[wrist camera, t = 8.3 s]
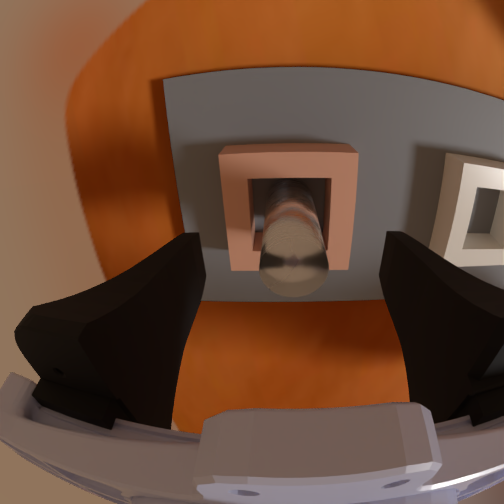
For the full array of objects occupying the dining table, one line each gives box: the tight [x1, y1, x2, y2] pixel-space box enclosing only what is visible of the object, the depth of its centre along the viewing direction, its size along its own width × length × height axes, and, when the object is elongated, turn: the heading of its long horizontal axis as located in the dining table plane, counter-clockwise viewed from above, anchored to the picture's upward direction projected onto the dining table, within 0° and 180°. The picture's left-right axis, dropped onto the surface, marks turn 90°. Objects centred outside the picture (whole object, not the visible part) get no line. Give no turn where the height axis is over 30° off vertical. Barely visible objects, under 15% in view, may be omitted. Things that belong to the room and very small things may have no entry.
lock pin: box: [259, 178, 329, 297], centre depth 13 cm, size 2×2×6 cm
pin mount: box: [429, 153, 504, 267], centre depth 14 cm, size 6×6×2 cm
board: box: [163, 67, 504, 302], centre depth 16 cm, size 24×14×1 cm, turn 94°
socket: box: [218, 143, 359, 271], centre depth 15 cm, size 6×6×2 cm
